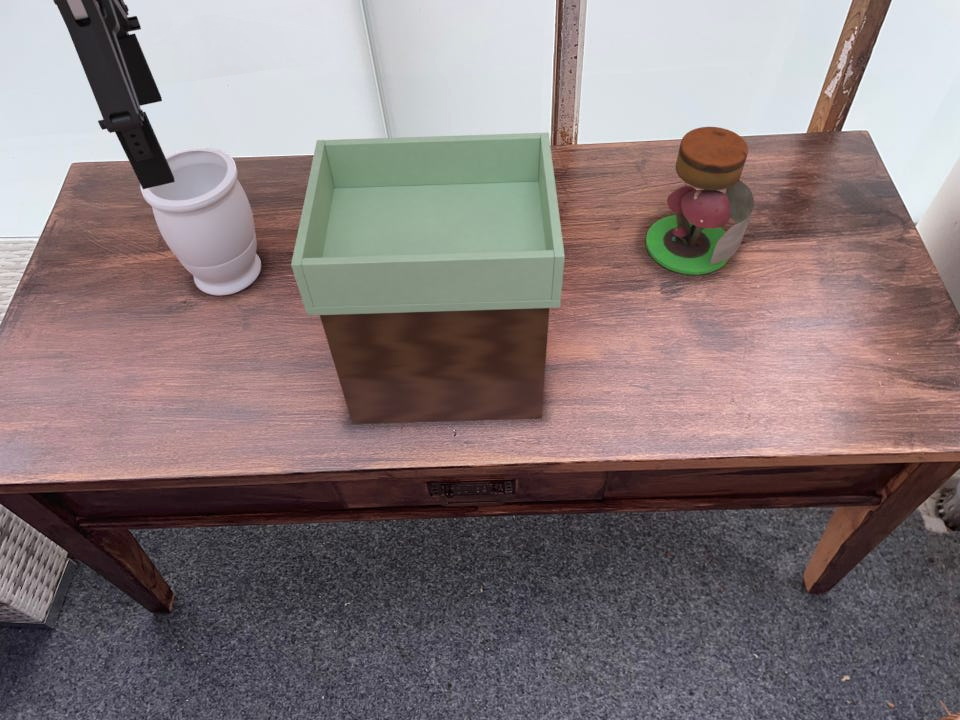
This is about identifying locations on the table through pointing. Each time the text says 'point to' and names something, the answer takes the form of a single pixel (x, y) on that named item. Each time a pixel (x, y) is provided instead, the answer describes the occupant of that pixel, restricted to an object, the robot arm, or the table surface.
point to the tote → (430, 225)
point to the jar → (207, 220)
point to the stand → (440, 364)
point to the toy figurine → (704, 204)
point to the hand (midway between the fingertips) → (153, 140)
